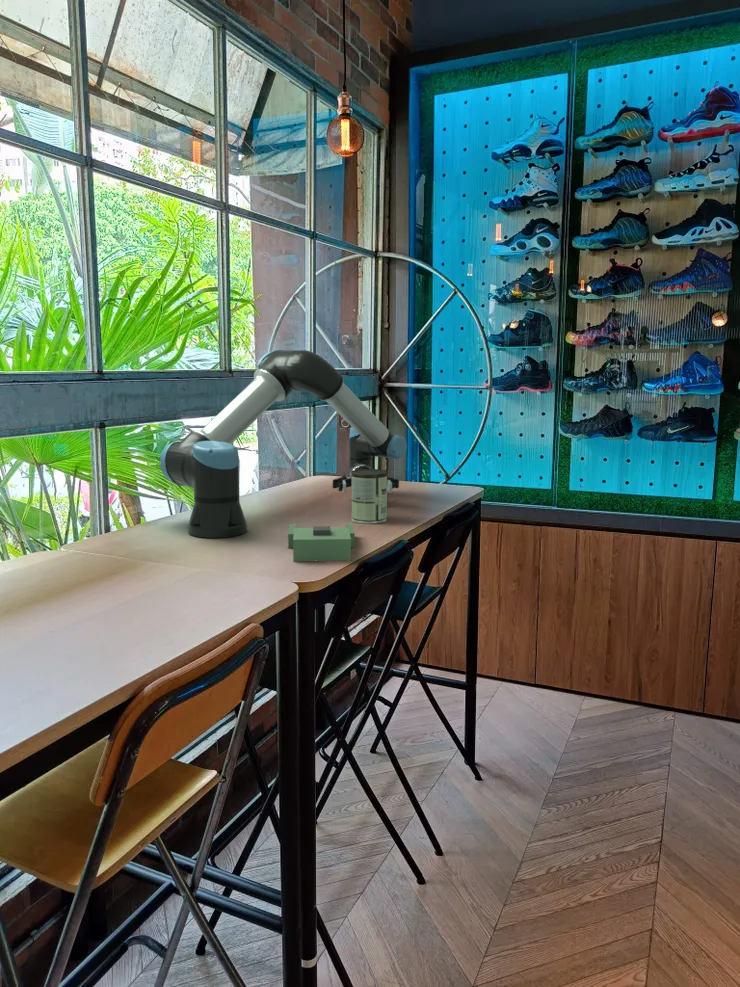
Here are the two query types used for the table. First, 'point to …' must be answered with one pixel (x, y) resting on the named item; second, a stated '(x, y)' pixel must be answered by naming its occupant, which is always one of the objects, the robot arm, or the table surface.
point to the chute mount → (321, 543)
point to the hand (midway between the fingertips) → (367, 488)
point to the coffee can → (369, 496)
